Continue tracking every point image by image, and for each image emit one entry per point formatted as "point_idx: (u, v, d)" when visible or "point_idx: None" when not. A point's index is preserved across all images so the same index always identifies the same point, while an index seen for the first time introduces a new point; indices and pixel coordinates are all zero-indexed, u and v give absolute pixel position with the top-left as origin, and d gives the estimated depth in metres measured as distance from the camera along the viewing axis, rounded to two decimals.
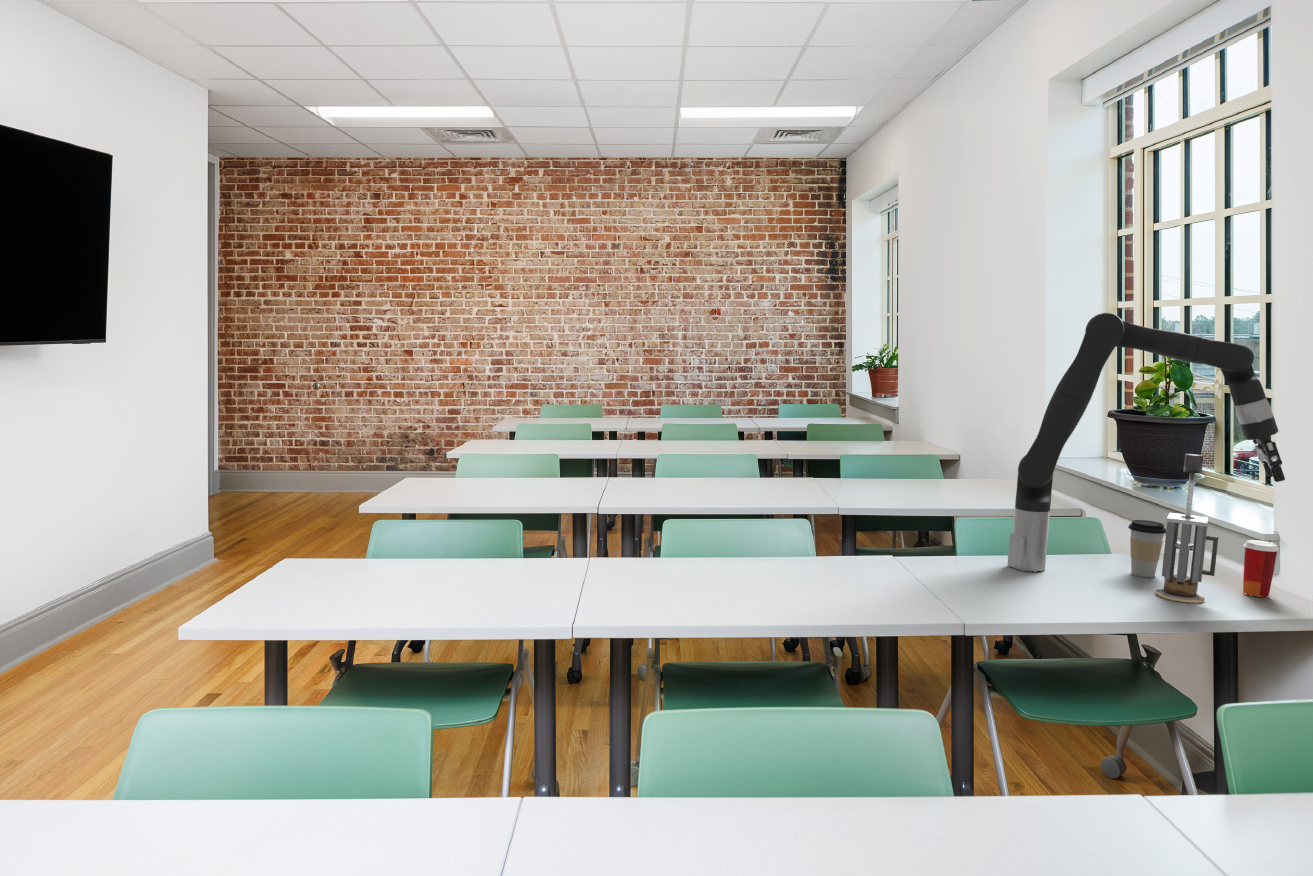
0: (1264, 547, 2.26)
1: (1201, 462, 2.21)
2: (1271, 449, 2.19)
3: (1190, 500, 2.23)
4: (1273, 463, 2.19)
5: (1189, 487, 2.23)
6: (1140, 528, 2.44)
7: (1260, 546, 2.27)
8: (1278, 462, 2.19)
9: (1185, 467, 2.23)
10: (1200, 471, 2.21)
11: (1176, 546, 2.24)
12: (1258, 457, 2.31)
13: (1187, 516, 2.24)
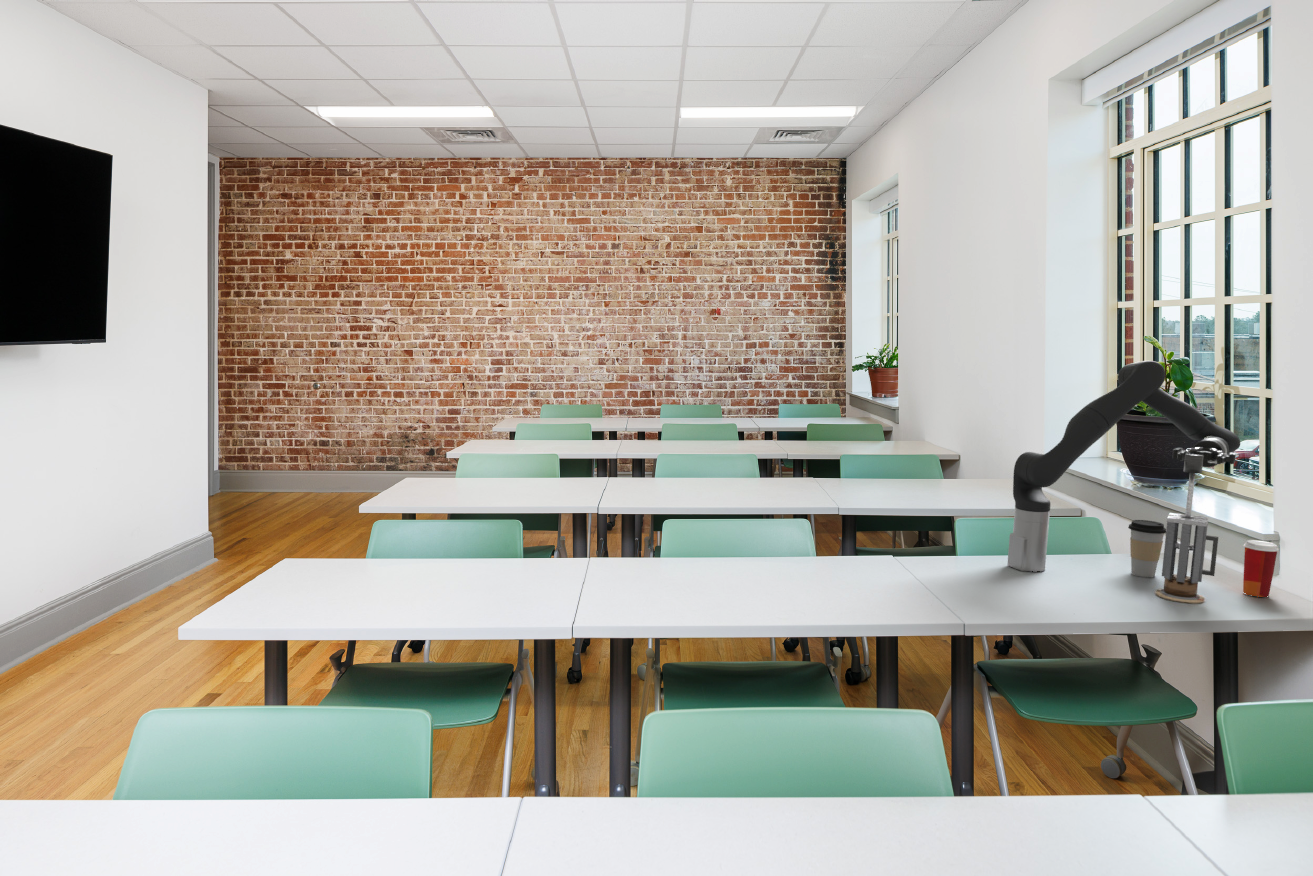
0: (1264, 547, 2.26)
1: (1201, 462, 2.21)
2: (1235, 457, 2.33)
3: (1190, 500, 2.23)
4: (1234, 457, 2.30)
5: (1189, 487, 2.23)
6: (1140, 528, 2.44)
7: (1260, 546, 2.27)
8: (1233, 461, 2.30)
9: (1185, 467, 2.23)
10: (1200, 471, 2.21)
11: (1176, 546, 2.24)
12: (1175, 449, 2.39)
13: (1187, 516, 2.24)
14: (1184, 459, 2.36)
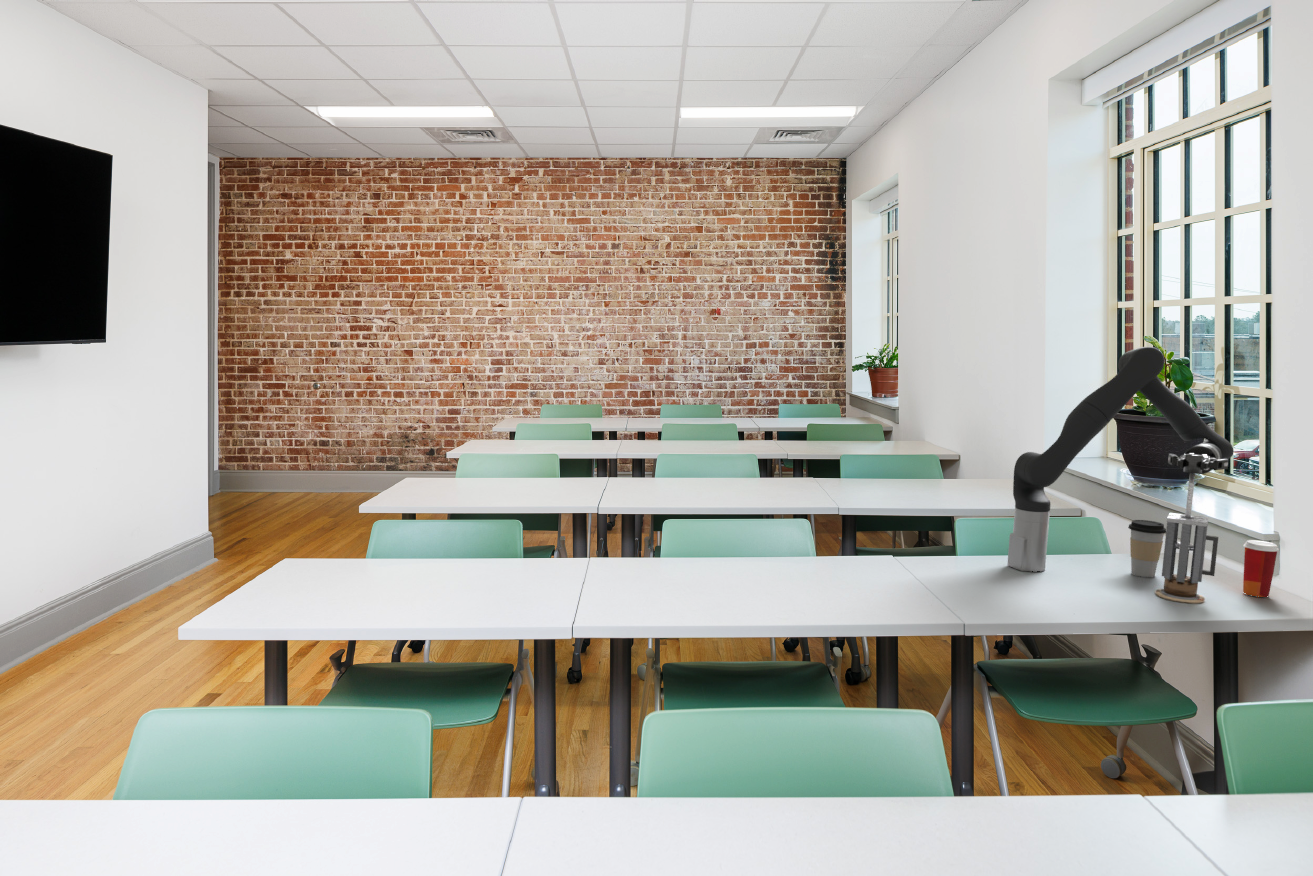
0: (1264, 547, 2.26)
1: None
2: (1225, 464, 2.23)
3: (1190, 500, 2.23)
4: (1218, 462, 2.21)
5: (1189, 487, 2.23)
6: (1140, 528, 2.44)
7: (1260, 546, 2.27)
8: (1217, 467, 2.21)
9: (1185, 467, 2.23)
10: (1200, 471, 2.21)
11: (1176, 546, 2.24)
12: (1175, 455, 2.27)
13: (1187, 516, 2.24)
14: None
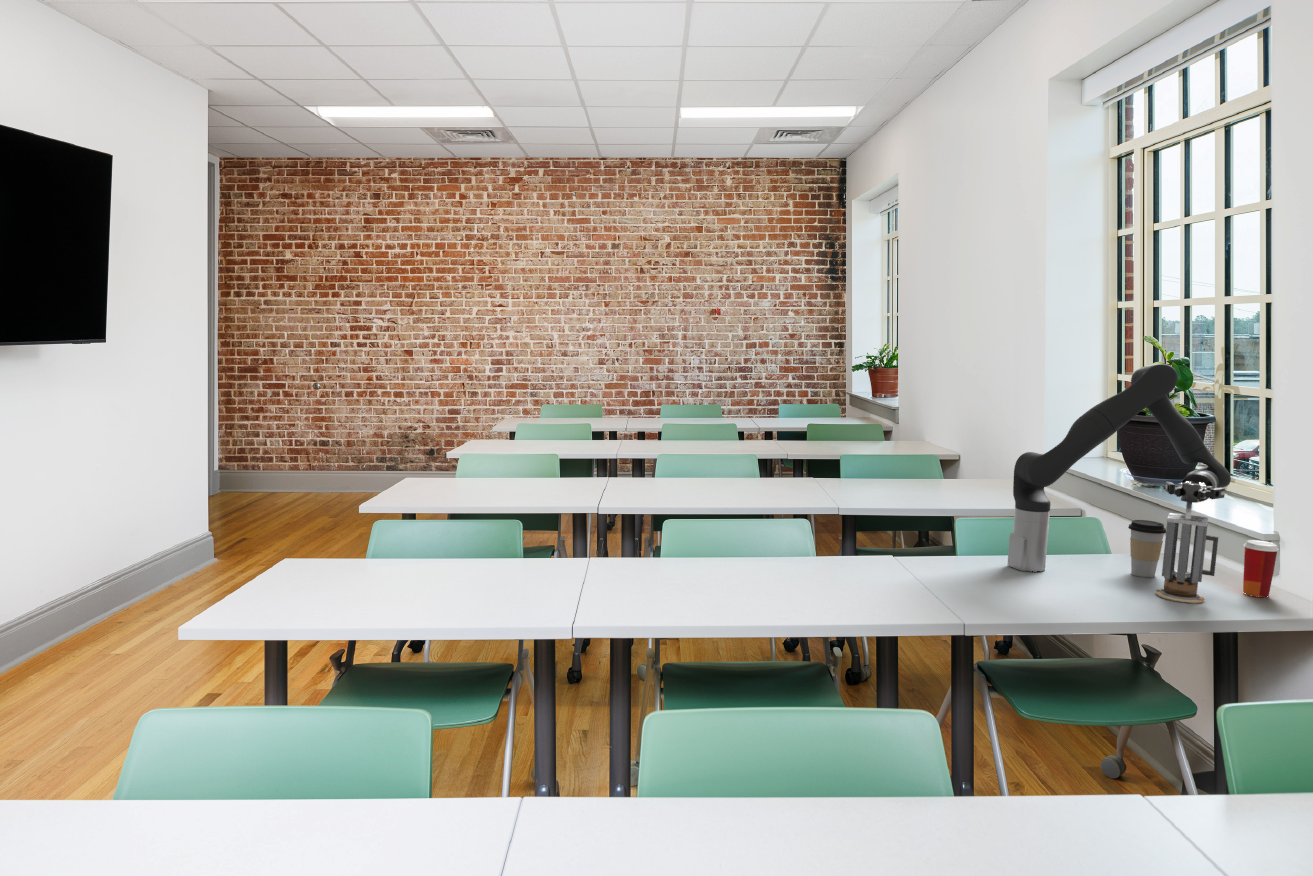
0: (1264, 547, 2.26)
1: None
2: (1221, 493, 2.24)
3: None
4: (1215, 492, 2.22)
5: (1186, 516, 2.24)
6: (1140, 528, 2.44)
7: (1260, 546, 2.27)
8: (1214, 496, 2.22)
9: (1182, 496, 2.24)
10: (1197, 500, 2.22)
11: (1173, 574, 2.25)
12: (1172, 484, 2.28)
13: None
14: None
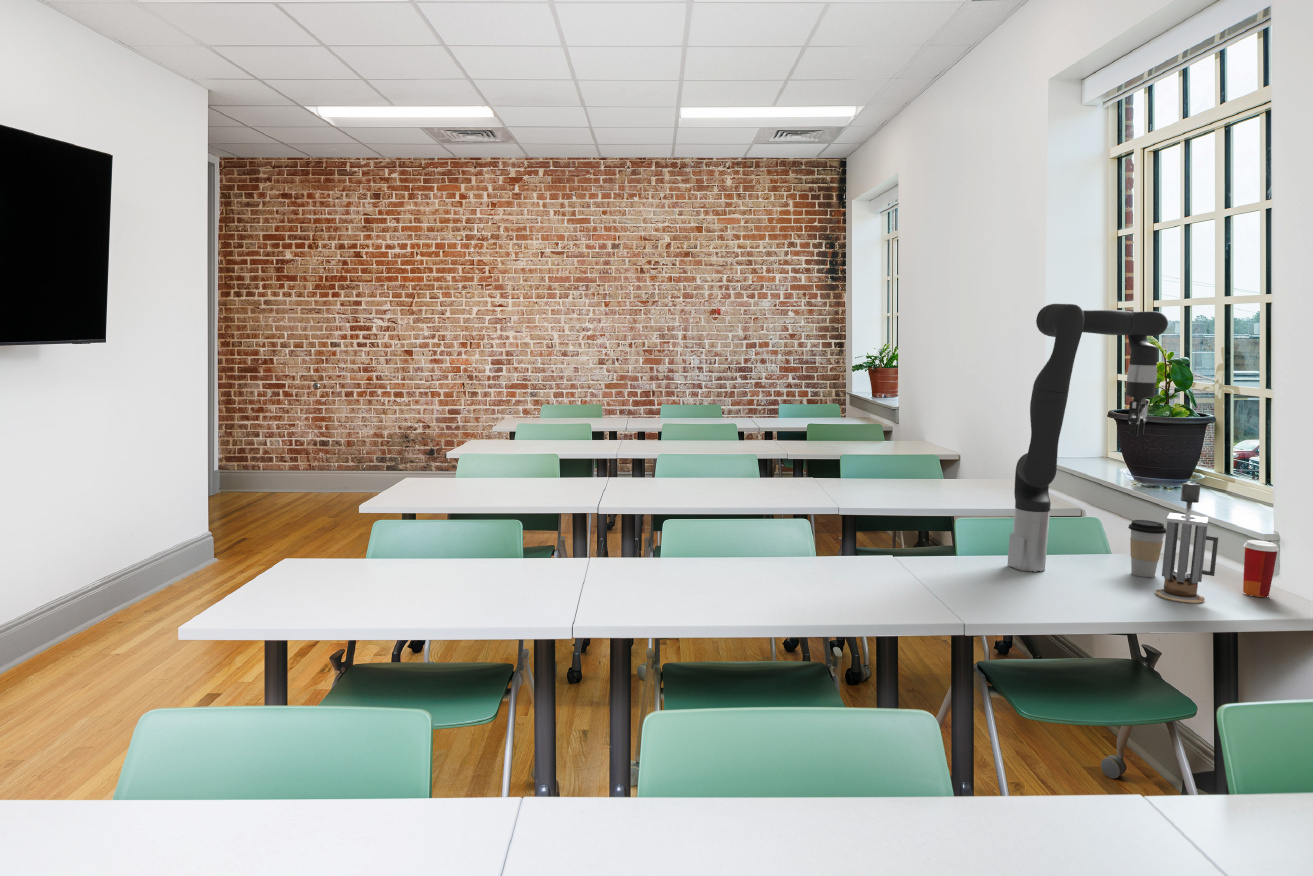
0: (1264, 547, 2.26)
1: (1198, 491, 2.22)
2: None
3: None
4: None
5: (1186, 516, 2.24)
6: (1140, 528, 2.44)
7: (1260, 546, 2.27)
8: None
9: (1182, 496, 2.24)
10: (1197, 500, 2.22)
11: (1173, 575, 2.25)
12: (1138, 419, 2.50)
13: None
14: (1130, 425, 2.54)
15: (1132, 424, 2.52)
